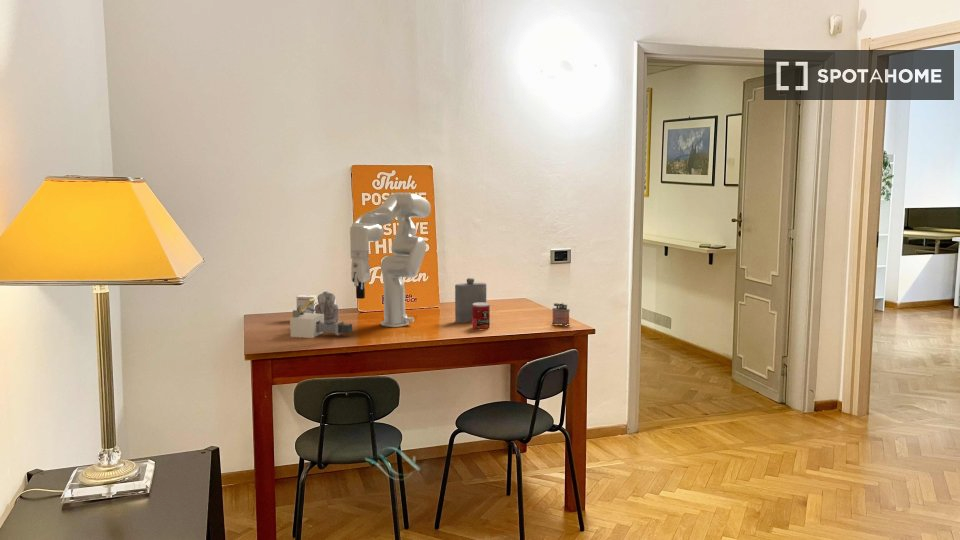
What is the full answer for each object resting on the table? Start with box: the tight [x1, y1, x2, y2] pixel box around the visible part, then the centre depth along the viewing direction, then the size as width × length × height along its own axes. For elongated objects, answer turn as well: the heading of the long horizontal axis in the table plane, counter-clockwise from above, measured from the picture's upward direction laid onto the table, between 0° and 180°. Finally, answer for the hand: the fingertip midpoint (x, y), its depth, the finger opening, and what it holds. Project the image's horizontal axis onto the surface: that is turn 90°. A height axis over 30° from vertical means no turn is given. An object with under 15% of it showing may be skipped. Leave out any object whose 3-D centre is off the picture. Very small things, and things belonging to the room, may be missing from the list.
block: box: [289, 308, 324, 339], centre depth 319 cm, size 10×12×11 cm
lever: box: [298, 298, 315, 315], centre depth 319 cm, size 10×4×2 cm
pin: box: [316, 320, 353, 336], centre depth 317 cm, size 19×6×5 cm, turn 78°
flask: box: [454, 277, 487, 324], centre depth 346 cm, size 15×6×20 cm, turn 109°
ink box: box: [296, 294, 318, 313], centre depth 348 cm, size 9×5×12 cm, turn 84°
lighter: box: [551, 302, 571, 325], centre depth 338 cm, size 8×3×10 cm, turn 65°
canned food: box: [471, 302, 491, 330], centre depth 332 cm, size 8×8×11 cm
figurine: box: [315, 291, 339, 323], centre depth 336 cm, size 10×11×15 cm
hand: (360, 298), depth 312 cm, fingers closed
